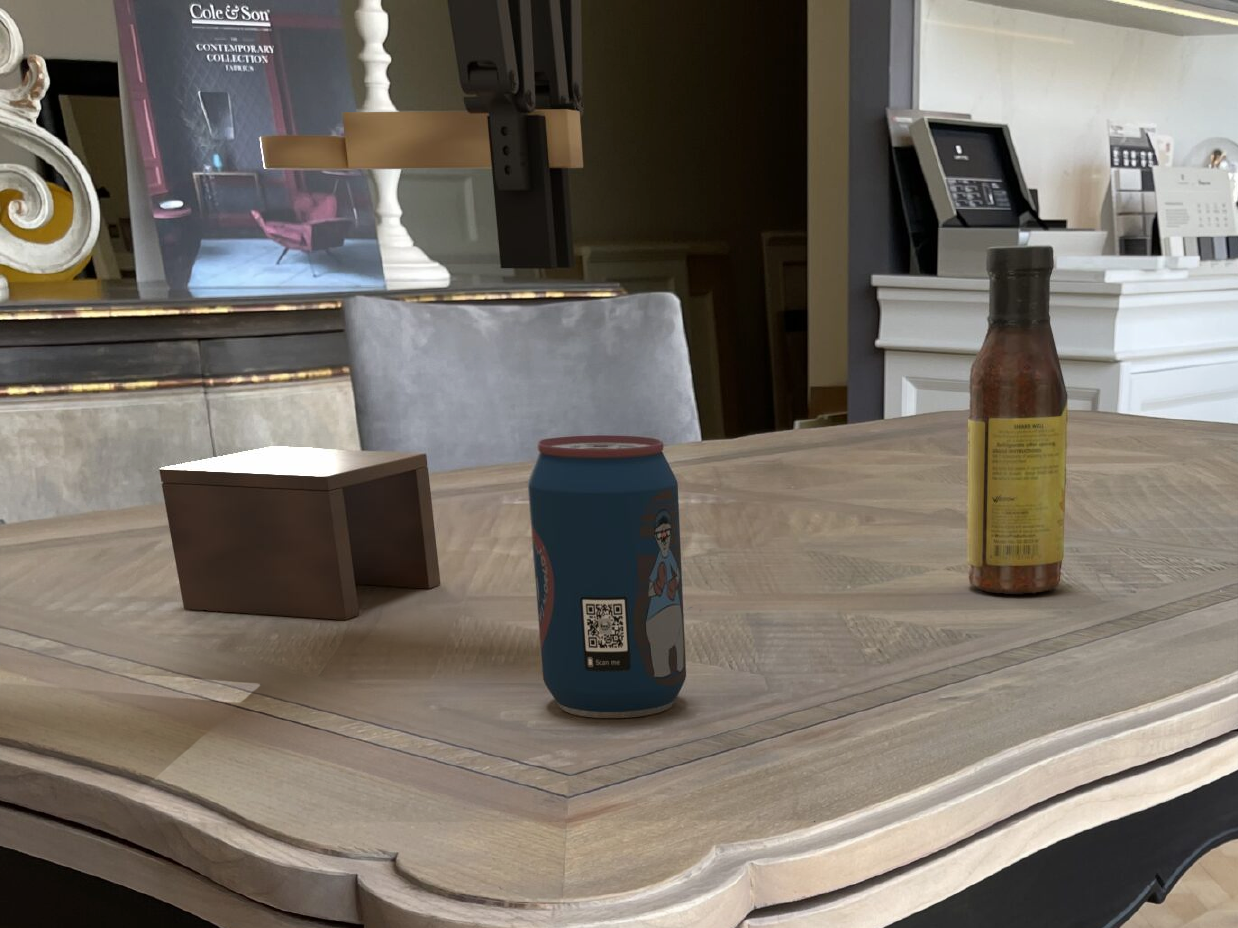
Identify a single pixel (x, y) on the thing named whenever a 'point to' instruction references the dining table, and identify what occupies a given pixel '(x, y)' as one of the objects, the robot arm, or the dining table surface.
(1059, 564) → the sauce bottle
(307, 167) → the wooden stepped block
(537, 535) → the soda can
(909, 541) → the dining table surface
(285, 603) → the shelf
